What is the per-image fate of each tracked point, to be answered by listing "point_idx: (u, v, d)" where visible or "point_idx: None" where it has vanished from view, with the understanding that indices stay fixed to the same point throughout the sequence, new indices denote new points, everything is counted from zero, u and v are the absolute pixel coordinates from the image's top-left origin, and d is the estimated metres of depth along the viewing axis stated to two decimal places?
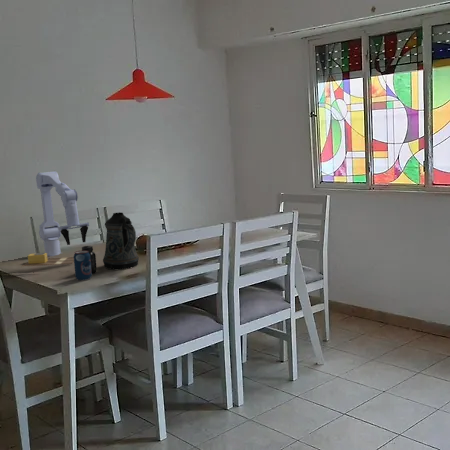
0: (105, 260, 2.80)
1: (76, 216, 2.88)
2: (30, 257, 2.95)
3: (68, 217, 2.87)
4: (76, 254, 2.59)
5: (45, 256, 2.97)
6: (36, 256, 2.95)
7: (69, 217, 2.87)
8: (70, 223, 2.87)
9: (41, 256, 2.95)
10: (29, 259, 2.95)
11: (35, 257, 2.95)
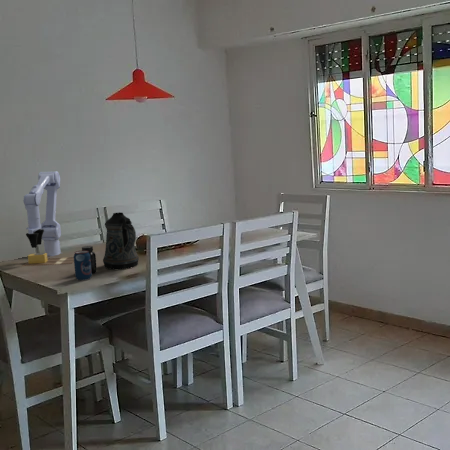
0: (105, 260, 2.80)
1: (28, 220, 2.94)
2: (30, 257, 2.95)
3: None
4: (76, 254, 2.60)
5: (45, 256, 2.97)
6: (36, 256, 2.95)
7: None
8: None
9: (41, 256, 2.95)
10: (29, 259, 2.95)
11: (35, 257, 2.95)
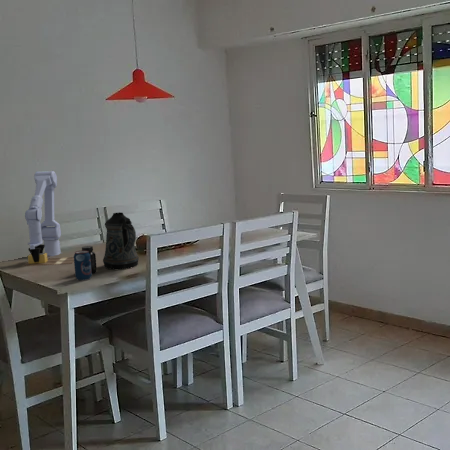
0: (105, 260, 2.80)
1: (29, 236, 2.95)
2: (30, 257, 2.95)
3: None
4: (76, 254, 2.60)
5: (45, 256, 2.97)
6: None
7: None
8: None
9: (41, 256, 2.95)
10: (29, 259, 2.95)
11: None
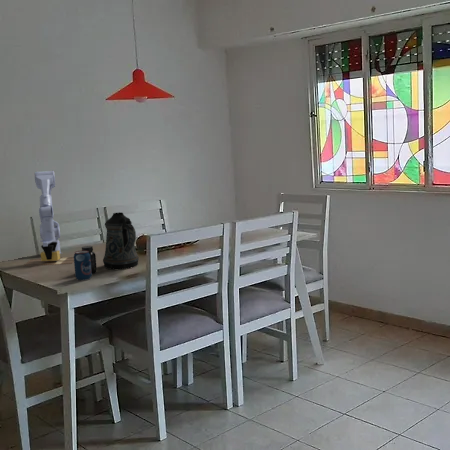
0: (105, 260, 2.80)
1: (42, 233, 2.95)
2: (42, 254, 2.95)
3: None
4: (76, 254, 2.60)
5: (58, 253, 2.97)
6: None
7: None
8: None
9: (54, 253, 2.95)
10: (42, 256, 2.95)
11: None
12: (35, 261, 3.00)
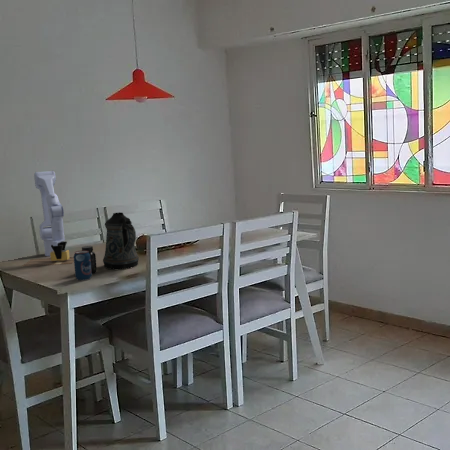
0: (105, 260, 2.80)
1: (52, 232, 2.95)
2: (52, 254, 2.95)
3: None
4: (76, 254, 2.59)
5: (67, 253, 2.97)
6: None
7: None
8: None
9: (63, 253, 2.95)
10: (51, 256, 2.95)
11: None
12: (35, 261, 3.00)
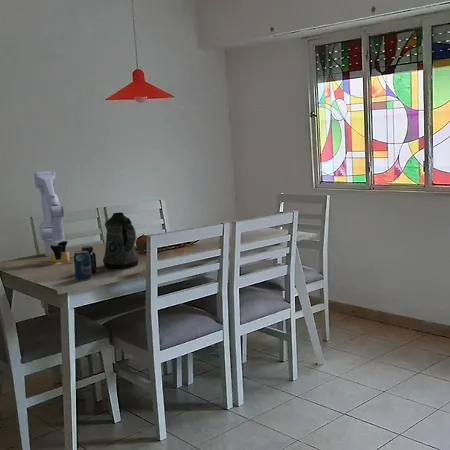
0: (105, 260, 2.80)
1: (52, 232, 2.95)
2: (52, 255, 2.95)
3: None
4: (76, 254, 2.60)
5: (67, 255, 2.97)
6: None
7: None
8: None
9: (63, 255, 2.95)
10: (52, 257, 2.96)
11: None
12: (35, 261, 3.00)
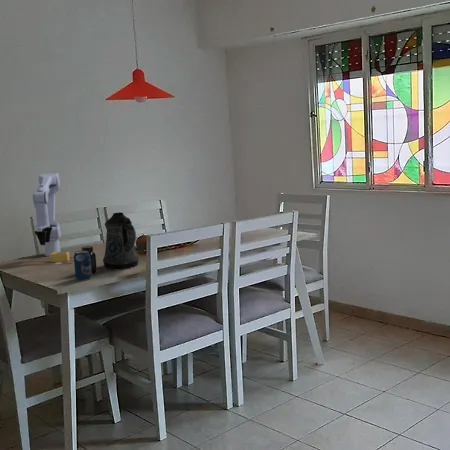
0: (105, 260, 2.80)
1: (36, 218, 2.98)
2: (52, 255, 2.95)
3: None
4: (76, 254, 2.60)
5: (67, 255, 2.97)
6: (58, 255, 2.95)
7: None
8: None
9: (63, 255, 2.95)
10: (52, 257, 2.96)
11: (58, 255, 2.95)
12: (35, 261, 3.00)
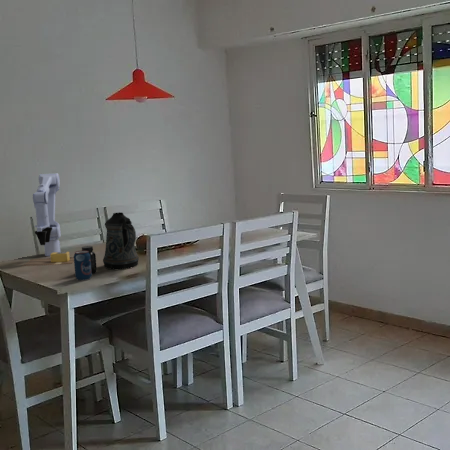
0: (105, 260, 2.80)
1: (36, 218, 2.98)
2: (52, 255, 2.95)
3: None
4: (76, 254, 2.60)
5: (67, 255, 2.97)
6: (58, 255, 2.95)
7: None
8: None
9: (63, 255, 2.95)
10: (52, 257, 2.96)
11: (58, 255, 2.95)
12: (35, 261, 3.00)
